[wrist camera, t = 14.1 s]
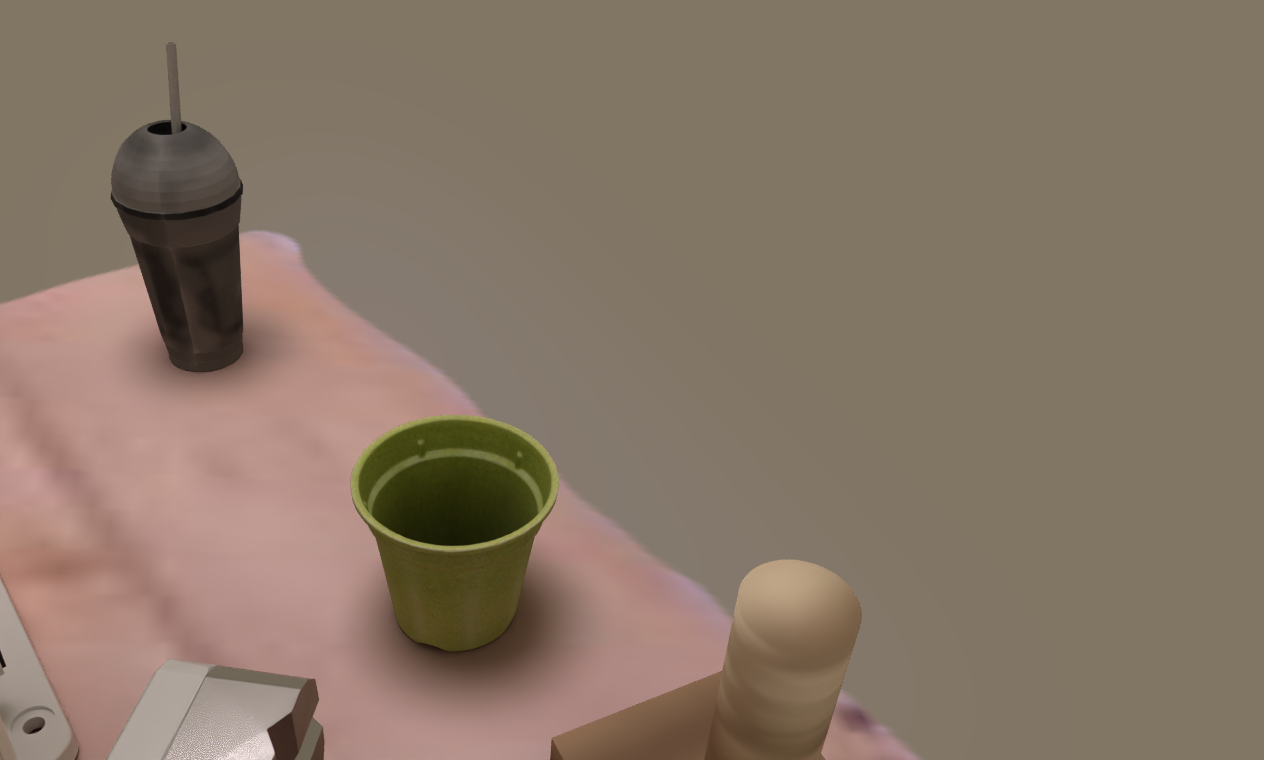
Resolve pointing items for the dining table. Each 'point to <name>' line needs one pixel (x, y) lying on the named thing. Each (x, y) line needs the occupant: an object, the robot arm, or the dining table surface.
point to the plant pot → (454, 522)
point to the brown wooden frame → (648, 728)
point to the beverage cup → (185, 233)
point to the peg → (783, 663)
